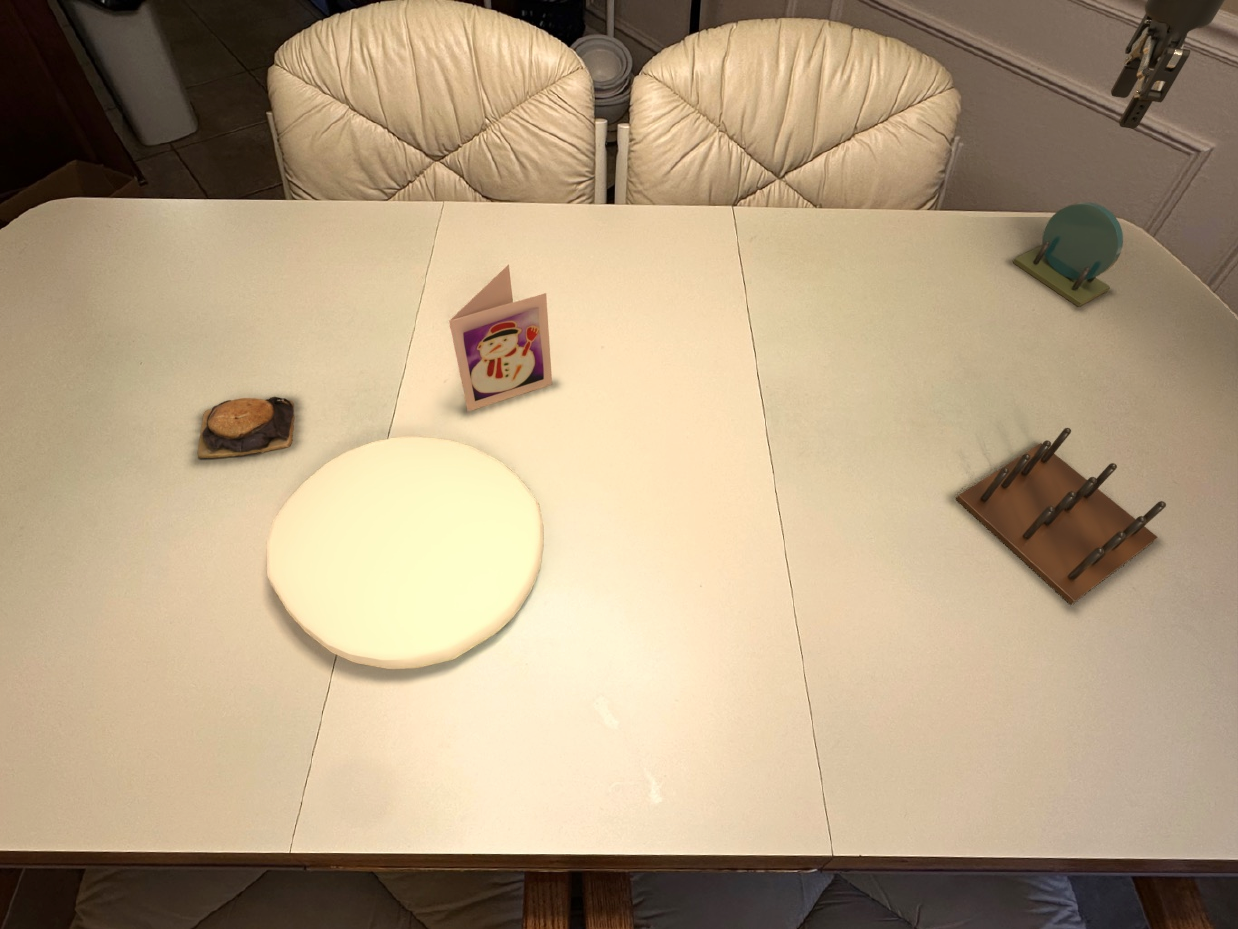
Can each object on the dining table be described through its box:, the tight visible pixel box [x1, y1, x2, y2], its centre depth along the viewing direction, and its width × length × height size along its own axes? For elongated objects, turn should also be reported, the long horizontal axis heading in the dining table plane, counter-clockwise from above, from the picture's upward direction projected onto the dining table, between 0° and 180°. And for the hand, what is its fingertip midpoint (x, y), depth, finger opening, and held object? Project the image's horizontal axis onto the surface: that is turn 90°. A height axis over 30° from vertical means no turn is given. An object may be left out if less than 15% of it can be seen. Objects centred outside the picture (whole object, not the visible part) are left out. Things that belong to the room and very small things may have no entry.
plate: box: [265, 436, 545, 670], centre depth 78 cm, size 28×6×27 cm
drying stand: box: [1012, 241, 1111, 308], centre depth 111 cm, size 7×12×5 cm, turn 33°
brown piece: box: [197, 396, 295, 459], centre depth 89 cm, size 11×8×4 cm
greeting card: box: [448, 264, 553, 412], centre depth 90 cm, size 11×7×15 cm, turn 116°
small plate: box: [1042, 201, 1124, 280], centre depth 108 cm, size 1×11×11 cm, turn 33°
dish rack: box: [955, 427, 1167, 605], centre depth 83 cm, size 15×16×7 cm
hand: (1122, 110), depth 99 cm, fingers open, 8 cm apart
